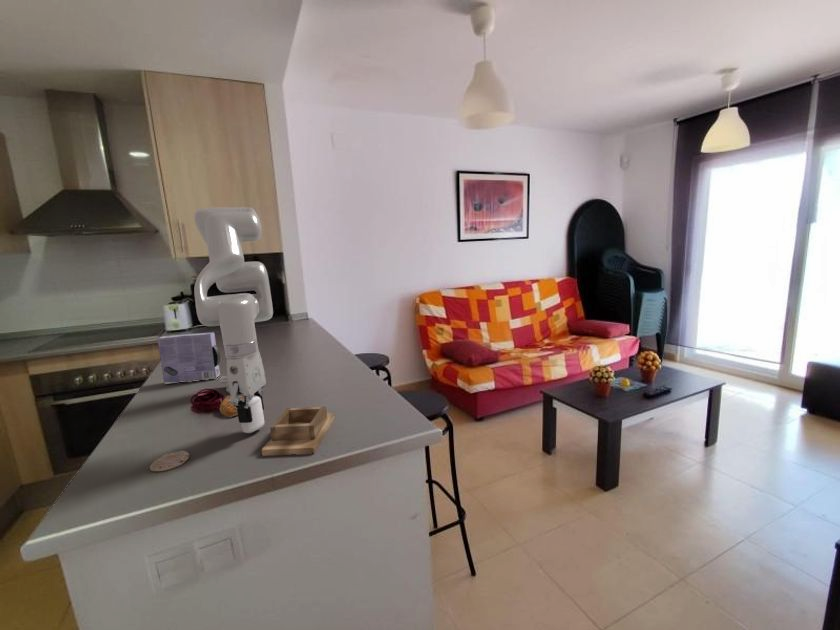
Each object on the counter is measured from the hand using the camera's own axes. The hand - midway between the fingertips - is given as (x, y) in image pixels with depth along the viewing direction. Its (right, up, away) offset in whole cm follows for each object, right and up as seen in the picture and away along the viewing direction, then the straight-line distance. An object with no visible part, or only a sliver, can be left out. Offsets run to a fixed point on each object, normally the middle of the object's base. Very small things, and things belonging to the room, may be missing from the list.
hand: (252, 415), depth 98 cm
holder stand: (+13, -4, -2) cm, 14 cm away
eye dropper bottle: (0, -4, +1) cm, 4 cm away
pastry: (-12, -3, +16) cm, 20 cm away
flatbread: (-14, -8, -11) cm, 19 cm away
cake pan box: (-41, +1, +46) cm, 62 cm away
